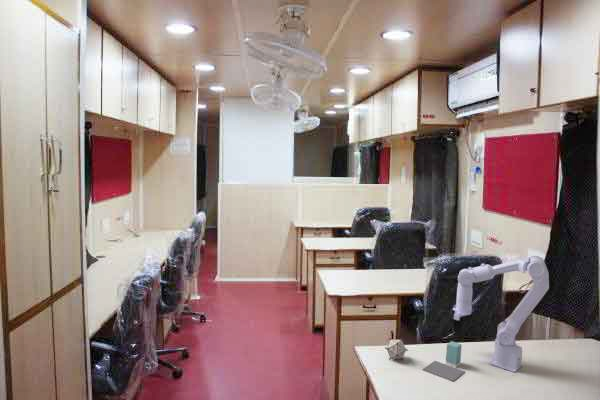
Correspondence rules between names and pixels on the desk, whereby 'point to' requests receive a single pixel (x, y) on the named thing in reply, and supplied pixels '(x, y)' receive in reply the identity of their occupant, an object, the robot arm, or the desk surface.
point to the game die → (396, 349)
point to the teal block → (453, 354)
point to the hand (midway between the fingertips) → (461, 332)
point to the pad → (443, 370)
